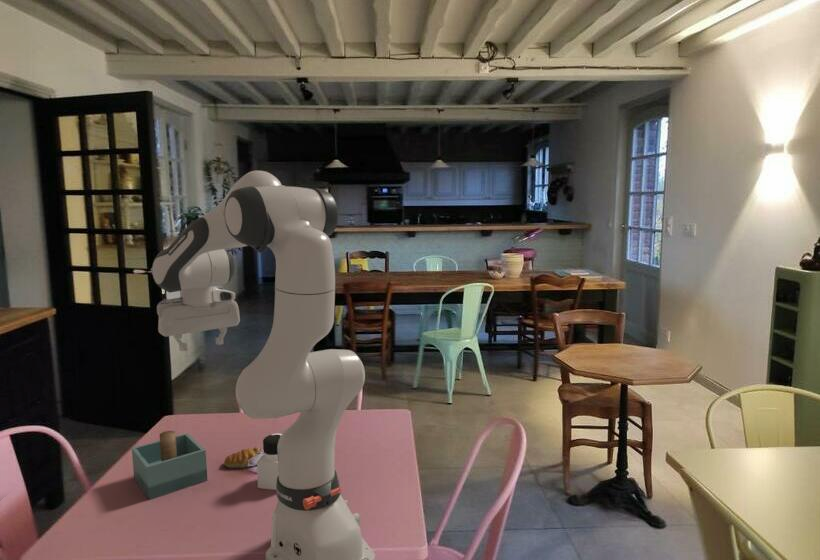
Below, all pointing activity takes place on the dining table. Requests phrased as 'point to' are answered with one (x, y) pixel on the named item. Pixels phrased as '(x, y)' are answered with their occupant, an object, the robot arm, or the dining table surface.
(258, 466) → the medicine bottle
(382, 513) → the dining table surface
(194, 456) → the box
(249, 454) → the pastry
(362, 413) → the dining table surface
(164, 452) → the peg
